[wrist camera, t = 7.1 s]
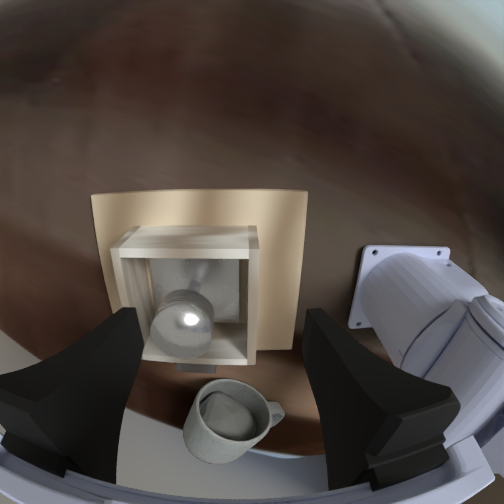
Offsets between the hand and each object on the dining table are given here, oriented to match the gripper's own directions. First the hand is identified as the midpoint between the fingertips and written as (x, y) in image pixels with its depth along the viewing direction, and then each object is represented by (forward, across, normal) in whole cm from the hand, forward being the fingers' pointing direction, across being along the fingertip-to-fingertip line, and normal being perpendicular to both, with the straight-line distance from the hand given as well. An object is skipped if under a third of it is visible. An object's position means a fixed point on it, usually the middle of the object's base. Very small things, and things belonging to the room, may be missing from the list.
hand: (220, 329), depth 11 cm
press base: (+10, +2, +3) cm, 11 cm away
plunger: (+10, +2, +3) cm, 11 cm away
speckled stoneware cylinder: (+11, 0, +19) cm, 22 cm away
